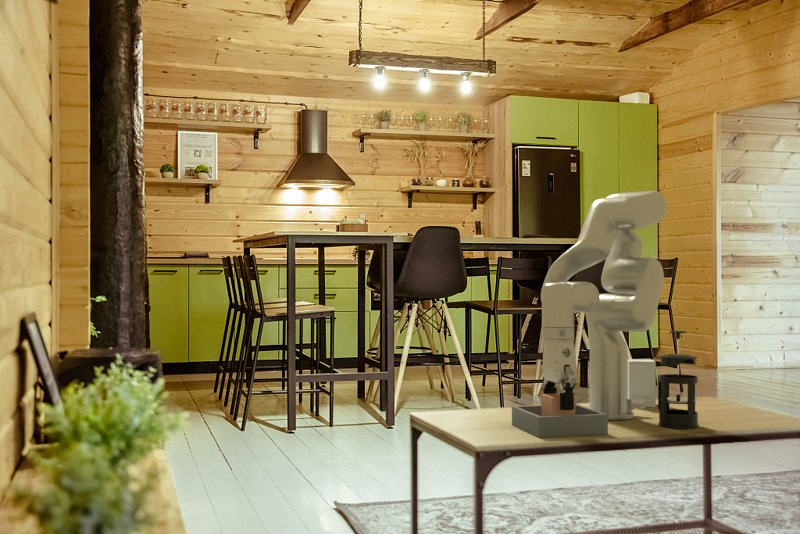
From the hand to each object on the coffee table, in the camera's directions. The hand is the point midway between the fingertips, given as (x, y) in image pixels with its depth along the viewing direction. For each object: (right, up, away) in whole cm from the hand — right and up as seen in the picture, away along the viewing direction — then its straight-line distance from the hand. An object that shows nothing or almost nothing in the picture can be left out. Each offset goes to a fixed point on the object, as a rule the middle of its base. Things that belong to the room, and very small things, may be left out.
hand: (558, 406), depth 210 cm
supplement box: (+30, -6, +38) cm, 49 cm away
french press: (+30, -6, +5) cm, 31 cm away
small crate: (0, -4, 0) cm, 4 cm away
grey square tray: (0, -5, 0) cm, 5 cm away
